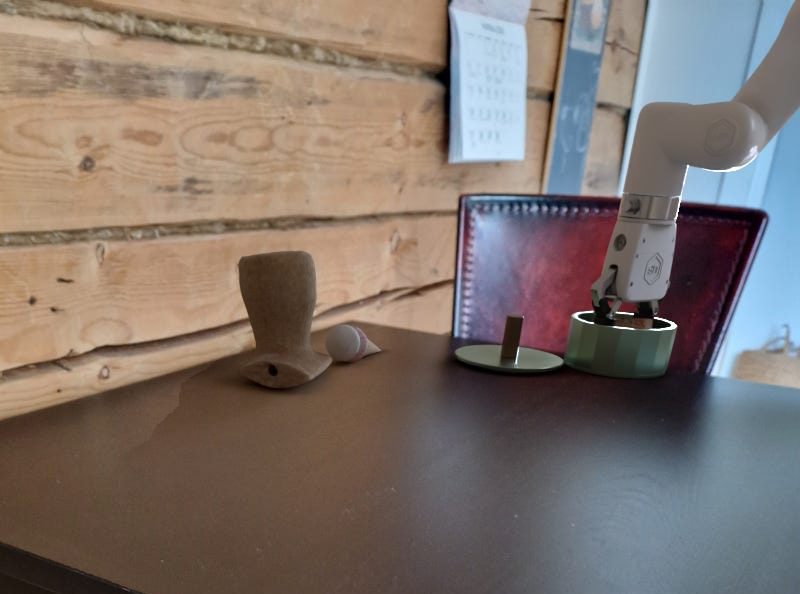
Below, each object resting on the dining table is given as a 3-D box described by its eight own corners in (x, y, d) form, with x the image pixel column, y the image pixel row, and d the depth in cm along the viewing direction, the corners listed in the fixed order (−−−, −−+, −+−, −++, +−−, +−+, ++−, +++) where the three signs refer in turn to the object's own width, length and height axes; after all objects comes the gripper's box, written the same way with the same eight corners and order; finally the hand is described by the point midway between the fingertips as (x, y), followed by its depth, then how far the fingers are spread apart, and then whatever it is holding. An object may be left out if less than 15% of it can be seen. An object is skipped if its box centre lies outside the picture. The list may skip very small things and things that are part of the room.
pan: (603, 352, 134) (613, 308, 131) (685, 372, 124) (697, 325, 121) (543, 360, 127) (551, 314, 123) (624, 382, 117) (636, 333, 113)
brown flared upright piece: (255, 360, 117) (256, 240, 109) (339, 370, 115) (346, 247, 107) (215, 385, 104) (213, 251, 97) (309, 396, 102) (315, 259, 94)
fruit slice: (638, 349, 127) (646, 314, 125) (652, 359, 122) (661, 322, 119) (582, 345, 127) (589, 310, 125) (593, 355, 122) (601, 318, 119)
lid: (504, 348, 133) (511, 303, 129) (584, 370, 122) (594, 321, 119) (432, 357, 125) (437, 309, 121) (511, 381, 114) (519, 329, 111)
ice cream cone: (361, 354, 129) (313, 345, 116) (379, 327, 126) (332, 315, 114) (384, 374, 128) (337, 367, 115) (402, 346, 125) (357, 336, 113)
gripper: (632, 212, 108) (602, 355, 117) (709, 213, 117) (676, 344, 126) (584, 207, 113) (559, 344, 122) (661, 208, 122) (633, 335, 131)
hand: (619, 344), depth 124 cm, fingers closed on fruit slice, 8 cm apart
